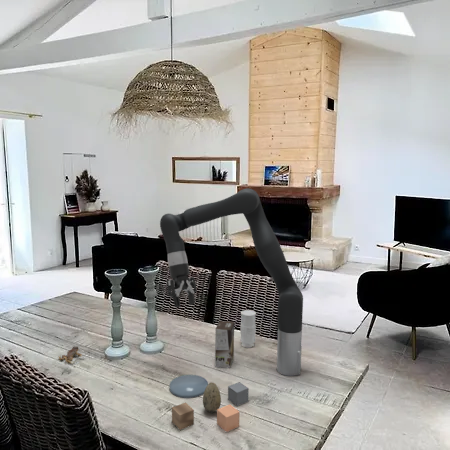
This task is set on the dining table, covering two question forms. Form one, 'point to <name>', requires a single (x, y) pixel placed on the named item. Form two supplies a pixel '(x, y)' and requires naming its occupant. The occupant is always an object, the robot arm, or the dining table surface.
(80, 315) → the dining table surface
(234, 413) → the terracotta block
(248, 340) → the candle
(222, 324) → the coffee box
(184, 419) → the walnut block
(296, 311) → the robot arm
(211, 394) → the decorative egg
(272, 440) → the dining table surface
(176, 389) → the round blue platter
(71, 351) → the frog figurine
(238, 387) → the charcoal block
